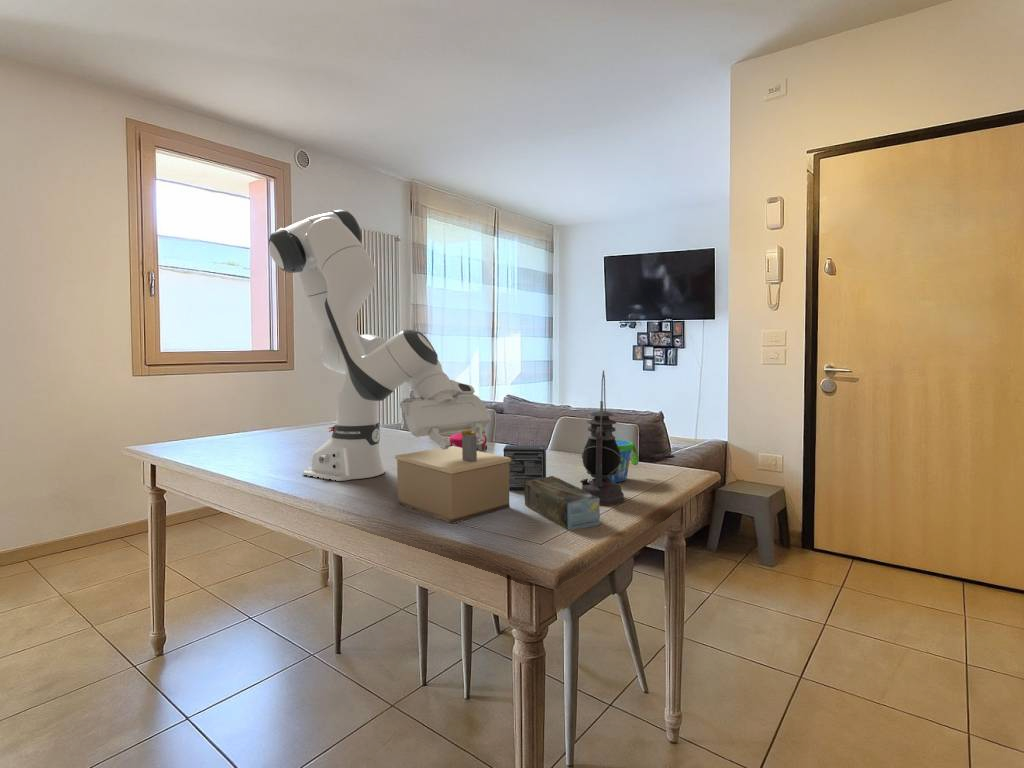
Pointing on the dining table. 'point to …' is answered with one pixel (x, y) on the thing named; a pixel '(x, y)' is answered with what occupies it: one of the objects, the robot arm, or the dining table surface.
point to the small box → (525, 464)
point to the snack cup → (625, 460)
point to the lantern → (602, 457)
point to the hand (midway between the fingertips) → (464, 445)
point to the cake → (457, 440)
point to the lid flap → (454, 457)
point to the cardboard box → (453, 490)
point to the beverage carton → (562, 502)
